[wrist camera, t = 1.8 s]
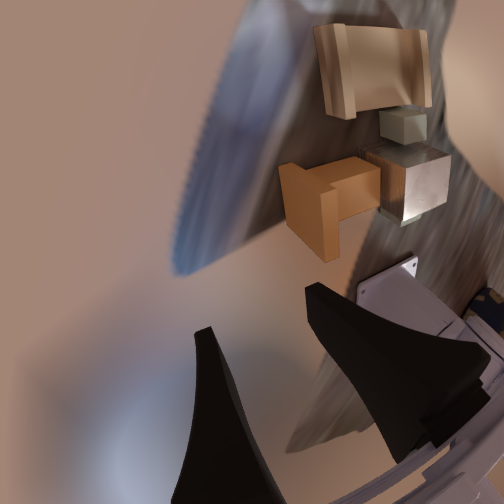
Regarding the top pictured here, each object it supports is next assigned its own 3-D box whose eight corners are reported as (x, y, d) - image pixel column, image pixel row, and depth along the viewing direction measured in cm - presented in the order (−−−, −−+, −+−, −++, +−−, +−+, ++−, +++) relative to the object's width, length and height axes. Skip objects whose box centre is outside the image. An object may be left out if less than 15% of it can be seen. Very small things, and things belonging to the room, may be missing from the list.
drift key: (356, 200, 23) (400, 229, 19) (287, 225, 22) (325, 263, 18) (353, 145, 20) (404, 167, 16) (277, 166, 19) (320, 194, 15)
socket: (400, 205, 25) (420, 217, 23) (380, 213, 25) (400, 227, 23) (401, 107, 20) (426, 114, 18) (378, 110, 20) (404, 117, 18)
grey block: (402, 178, 24) (446, 202, 20) (358, 193, 23) (403, 221, 19) (403, 136, 22) (451, 154, 18) (357, 147, 21) (406, 168, 17)
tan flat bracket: (411, 101, 20) (431, 106, 18) (326, 114, 18) (346, 119, 17) (404, 30, 17) (425, 30, 15) (312, 27, 15) (333, 23, 13)
